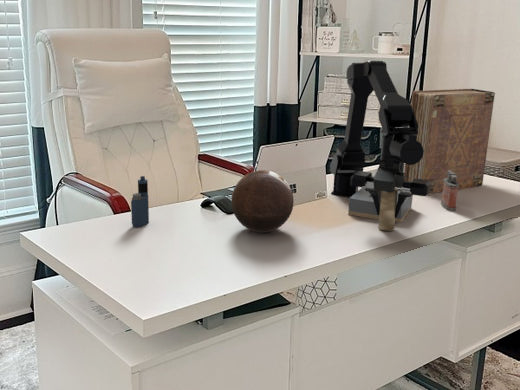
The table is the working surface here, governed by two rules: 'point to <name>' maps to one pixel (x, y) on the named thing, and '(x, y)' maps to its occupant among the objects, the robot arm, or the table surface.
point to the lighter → (450, 192)
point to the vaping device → (140, 204)
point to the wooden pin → (387, 210)
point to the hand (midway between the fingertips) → (387, 216)
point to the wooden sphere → (262, 201)
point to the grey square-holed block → (373, 205)
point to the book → (451, 136)
